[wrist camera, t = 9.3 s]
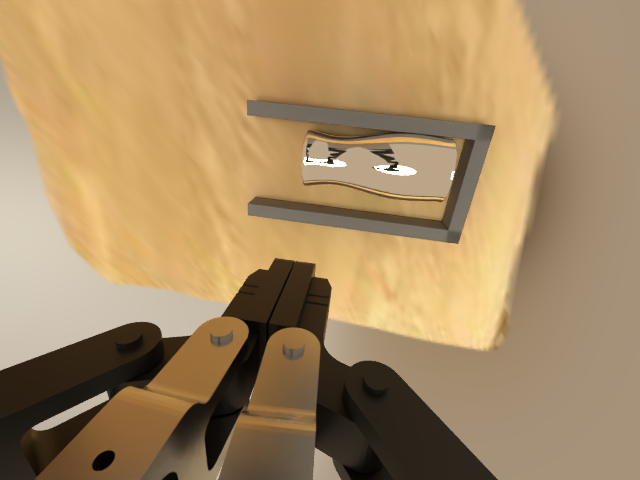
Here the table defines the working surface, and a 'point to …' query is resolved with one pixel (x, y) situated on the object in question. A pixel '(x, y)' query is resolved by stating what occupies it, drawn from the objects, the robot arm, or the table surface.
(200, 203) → the table surface
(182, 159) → the table surface
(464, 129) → the u rest
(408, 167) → the beer glass
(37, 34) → the table surface
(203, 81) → the table surface
